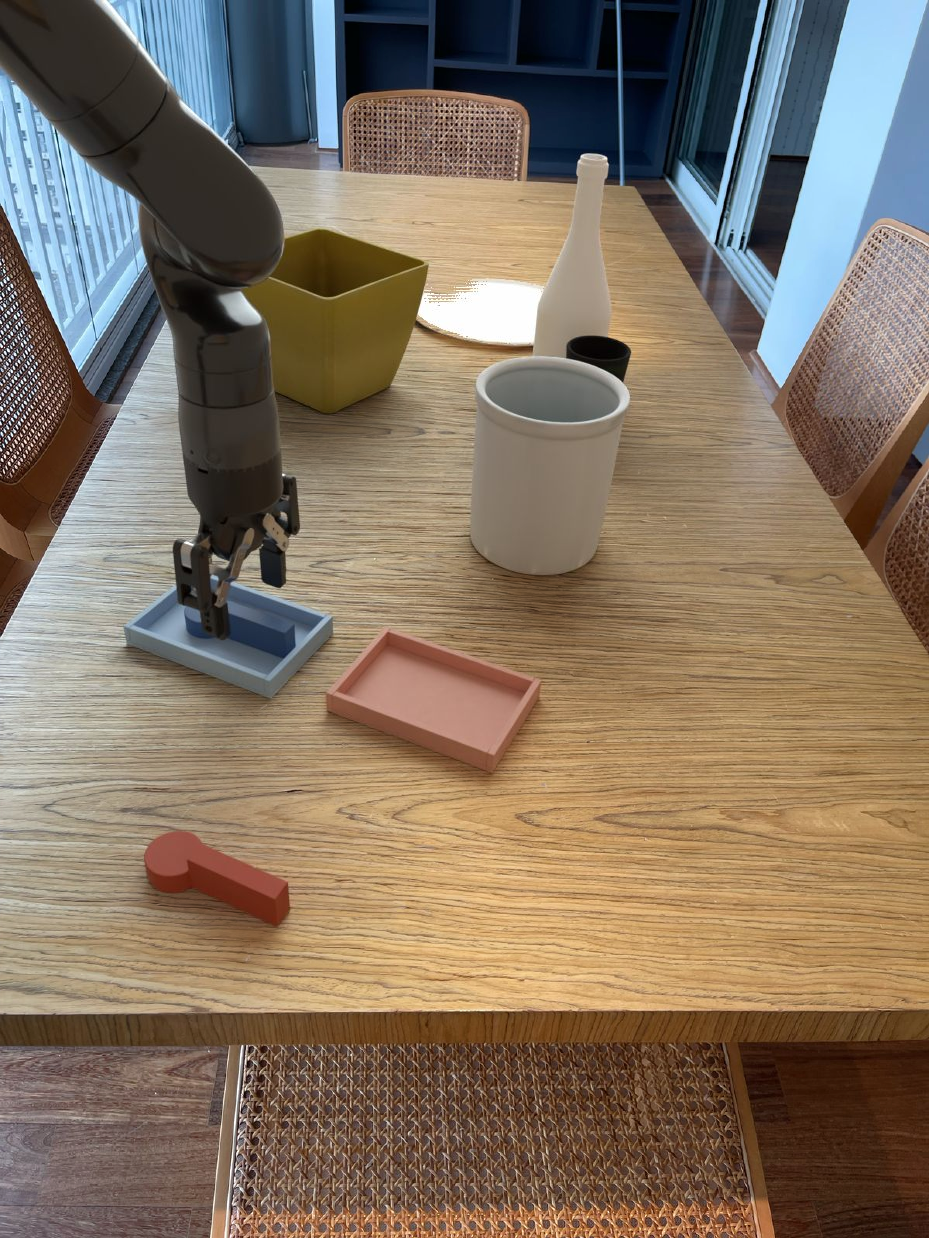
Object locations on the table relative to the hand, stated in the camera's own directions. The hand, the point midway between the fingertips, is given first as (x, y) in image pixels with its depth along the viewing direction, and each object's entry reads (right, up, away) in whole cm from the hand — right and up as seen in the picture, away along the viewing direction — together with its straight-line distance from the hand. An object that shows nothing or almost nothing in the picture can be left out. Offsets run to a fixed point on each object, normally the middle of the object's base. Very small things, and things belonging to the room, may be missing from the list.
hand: (246, 609), depth 87 cm
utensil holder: (+26, +7, +19) cm, 33 cm away
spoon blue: (-1, -2, +3) cm, 4 cm away
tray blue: (-2, -3, +3) cm, 5 cm away
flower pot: (+1, +30, +46) cm, 55 cm away
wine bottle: (+33, +30, +49) cm, 65 cm away
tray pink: (+17, -8, -2) cm, 18 cm away
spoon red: (+2, -19, -18) cm, 27 cm away
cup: (+34, +22, +38) cm, 56 cm away
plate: (+25, +47, +70) cm, 88 cm away
